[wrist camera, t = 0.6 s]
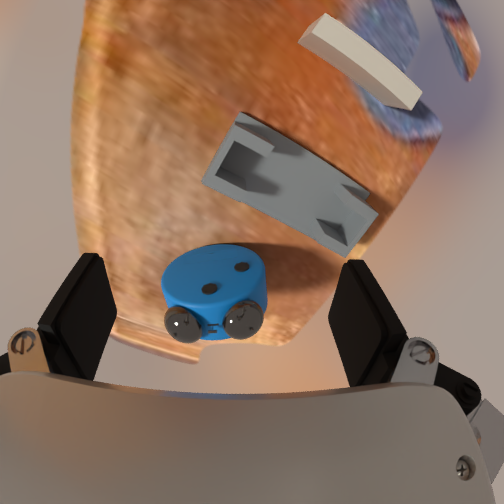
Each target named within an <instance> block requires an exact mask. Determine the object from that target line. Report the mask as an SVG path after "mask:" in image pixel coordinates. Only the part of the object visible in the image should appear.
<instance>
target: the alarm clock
mask: <svg viewBox="0 0 504 504" xmlns="http://www.w3.org/2000/svg"><path fill="white" fill-rule="evenodd" d="M161 287H162V291H163V294H164V297H165V300H166V302H167V305H168V308H169V309H168V310H167V312H166V313H165V316H164V324H165V327H166V329H167V331H168V333H169V334H170V335H171V336H172V337H173V338H174V339H176V340H177V341H180V342H183V343H193V342H196V341H198V340H199V339H203V340H222V339H228V338H234V339H240V340H241V339H247V338H249V337H251V336H253V335H254V334H256V333H257V332H258V331H259V329H260V328H261V326H262V323H263V320H264V313H265V311H266V308H267V287H266V274H265V266H264V263H263V261H262V259H261V258H260V257H259V255H257V254H256V253H255V252H254V251H252V250H250V249H248V248H245V247H242V246H237V245H230V244H217V245H209V246H204V247H200V248H197V249H194V250H191V251H189V252H187V253H185V254H183V255H181V256H179V257H178V258H176V259H175V260H174V261H173V262H171V263H170V264H169V266H168V267H167V268H166V269H165V271H164V273H163V276H162V279H161Z"/></svg>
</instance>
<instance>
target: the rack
mask: <svg viewBox="0 0 504 504" xmlns="http://www.w3.org/2000/svg"><path fill="white" fill-rule="evenodd" d="M201 182H202V184H204V185H206V186H208V187H210V188H212V189H214V190H216V191H218V192H220V193H222V194H224V195H226V196H228V197H230V198H232V199H234V200H236V201H238V202H243V203H245V204H247V205H249V206H251V207H253V208H255V209H257V210H259V211H261V212H263V213H265V214H267V215H269V216H271V217H273V218H275V219H277V220H279V221H280V222H282V223H284V224H286V225H288V226H290V227H292V228H294V229H296V230H298V231H299V232H301V233H303V234H305V235H307V236H309V237H311V238H312V239H314V240H316V241H317V242H318V243H319V244H321V245H323V246H324V247H326V248H328V249H330V250H332V251H334V252H335V253H337V254H339V255H341V256H343V257H345V258H346V256H347V255H348V254H349V253H350V251H351V250H352V249H353V247H354V246H355V245H356V244H357V242H358V241H359V240H360V238H361V237H362V236H363V234H364V233H365V232H366V231H367V229H368V228H369V227H370V225H371V224H372V223H373V221H374V220H375V218H376V217H377V216H378V213H377V212H376V211H375V210H374V209H373V208H372V207H371V206H370V205H369V204H368V203H367V202H366V201H365V200H366V199H367V198H368V196H369V195H370V193H369V192H368V191H367V190H365V189H364V188H363V187H361V186H360V185H359V184H357V183H356V182H354V181H353V180H351V179H350V178H349V177H347V176H346V175H344V174H343V173H341V172H340V171H338V170H337V169H336V168H334V167H333V166H331V165H330V164H328V163H327V162H325V161H324V160H322V159H320V158H319V157H317V156H316V155H314V154H313V153H311V152H310V151H308V150H306V149H305V148H303V147H302V146H300V145H298V144H297V143H295V142H293V141H292V140H290V139H288V138H287V137H285V136H283V135H282V134H280V133H278V132H276V131H275V130H273V129H271V128H269V127H268V126H266V125H264V124H262V123H261V122H259V121H257V120H255V119H253V118H251V117H250V116H248V115H246V114H244V113H242V112H239V114H238V116H237V117H236V119H235V121H234V122H233V124H232V126H231V128H230V129H229V131H228V133H227V134H226V136H225V138H224V140H223V142H222V143H221V145H220V147H219V149H218V150H217V152H216V154H215V156H214V158H213V160H212V161H211V163H210V165H209V167H208V169H207V171H206V173H205V174H204V176H203V178H202V181H201Z"/></svg>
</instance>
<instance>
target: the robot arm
mask: <svg viewBox="0 0 504 504" xmlns="http://www.w3.org/2000/svg"><path fill="white" fill-rule="evenodd" d="M116 316H117V308H116V305H115V302H114V298H113V295H112V291H111V288H110V284H109V280H108V277H107V273H106V269H105V265H104V261H103V258H102V257H99V255H98V254H97V253H84V254H83V255H82V256H81V257H80V259H79V260H78V262H77V263H76V264H75V266H74V267H73V269H72V270H71V271H70V273H69V274H68V276H67V277H66V279H65V280H64V282H63V283H62V285H61V286H60V288H59V290H58V291H57V292H56V294H55V295H54V297H53V299H52V300H51V302H50V303H49V305H48V307H47V308H46V310H45V312H44V313H43V315H42V316H41V318H40V320H39V322H38V325H39V327H38V329H37V330H35V329H33V328H23V329H20V330H18V331H17V332H15V333H14V334H13V335H12V337H11V338H10V340H9V342H8V352H7V353H5V354H4V355H2V356H0V504H496V503H495V499H494V494H493V489H492V486H491V484H492V483H493V481H494V479H495V477H496V475H497V474H498V472H499V470H500V468H501V466H502V464H503V462H504V415H502V413H500V412H499V411H498V410H497V409H496V408H495V407H494V406H493V405H492V404H491V403H490V402H489V401H487V400H486V399H484V400H483V401H482V400H481V391H480V389H479V387H478V385H477V384H476V383H475V382H474V381H473V380H472V379H470V378H468V377H466V376H464V375H462V374H460V373H458V372H456V371H455V370H453V369H451V368H449V367H447V366H445V365H443V364H441V363H439V354H438V350H437V349H436V347H435V346H434V345H433V344H432V343H431V342H430V341H428V340H426V339H424V338H420V337H414V338H410V339H409V338H408V336H407V335H406V333H407V332H406V330H405V329H404V327H403V325H402V323H401V322H400V320H399V318H398V316H397V314H396V313H395V311H394V309H393V308H392V306H391V304H390V302H389V301H388V299H387V297H386V295H385V294H384V292H383V290H382V289H381V287H380V286H379V284H378V282H377V281H376V279H375V278H374V276H373V274H372V273H371V271H370V269H369V268H368V266H367V265H366V263H365V262H364V260H353V259H350V260H348V262H347V263H344V264H343V267H342V270H341V274H340V277H339V281H338V284H337V288H336V291H335V295H334V298H333V301H332V304H331V308H330V311H329V315H328V319H329V324H330V327H331V330H332V333H333V336H334V339H335V342H336V345H337V348H338V350H339V354H340V357H341V360H342V363H343V366H344V369H345V373H346V376H347V379H348V382H349V385H350V387H348V388H339V389H329V390H319V391H307V392H292V393H271V394H212V393H211V394H210V393H191V392H176V391H164V390H153V389H144V388H136V387H129V386H122V385H114V384H109V383H103V382H96V381H93V380H94V377H95V374H96V371H97V368H98V365H99V362H100V359H101V356H102V353H103V351H104V348H105V345H106V342H107V340H108V337H109V334H110V332H111V329H112V327H113V324H114V322H115V319H116Z"/></svg>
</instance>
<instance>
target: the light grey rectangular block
mask: <svg viewBox="0 0 504 504" xmlns="http://www.w3.org/2000/svg"><path fill="white" fill-rule="evenodd" d="M297 43H298V44H300V45H302V46H303V47H305V48H306V49H308V50H310V51H311V52H313V53H314V54H316V55H318V56H319V57H321V58H322V59H324V60H325V61H327V62H328V63H330V64H331V65H333V66H334V67H335V68H337V69H338V70H340V71H341V72H342V73H344V74H345V75H347V76H348V77H349V78H351V79H352V80H353V81H355V82H356V83H357V84H359V85H360V86H361V87H362V88H364V89H365V90H366V91H367V92H369V93H370V94H371V95H372V96H374V97H375V98H376V99H377V100H378V101H380V102H381V103H382V104H383V105H385V106H391V107H396V108H402V109H406V110H412V109H413V107H414V105H415V104H416V102H417V101H418V99H419V97H420V96H421V94H422V91H421V90H420V89H419V88H418V87H417V86H416V85H415V84H414V83H413V82H412V81H411V80H410V79H408V77H407V76H406V75H405V74H404V73H403V72H402V71H400V70H399V69H398V68H397V67H396V66H395V65H394V64H393V63H392V62H390V61H389V60H388V59H387V58H386V57H385V56H383V55H382V54H381V53H380V52H379V51H377V50H376V49H375V48H374V47H372V46H371V45H370V44H369V43H367V42H366V41H365V40H363V39H362V38H361V37H360V36H358V35H357V34H355V33H354V32H353V31H351V30H350V29H349V28H347V27H346V26H344V25H343V24H341V23H340V22H338V21H337V20H335V19H334V18H332V17H331V16H329V15H328V14H326V13H325V14H324V15H322V16H321V17H320V18H318V19H317V20H316V21H315V22H313V23H312V24H311V25H310V26H309V27H308V28H307V30H306V31H305V32H304V34H303V35H302V37H301V38H300V39H299V41H298V42H297Z"/></svg>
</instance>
